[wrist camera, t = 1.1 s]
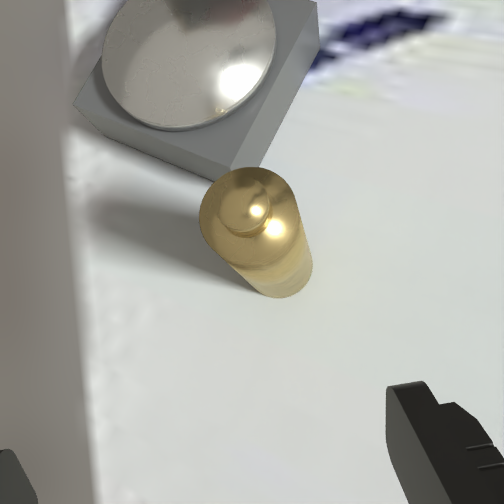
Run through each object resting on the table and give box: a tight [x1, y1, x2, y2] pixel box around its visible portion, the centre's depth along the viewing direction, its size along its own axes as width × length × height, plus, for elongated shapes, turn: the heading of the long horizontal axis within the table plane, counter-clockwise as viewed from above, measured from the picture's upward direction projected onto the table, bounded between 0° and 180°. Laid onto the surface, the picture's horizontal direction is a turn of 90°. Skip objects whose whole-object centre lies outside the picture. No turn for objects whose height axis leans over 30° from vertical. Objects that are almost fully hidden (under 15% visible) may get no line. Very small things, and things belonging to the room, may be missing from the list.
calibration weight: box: [199, 167, 313, 298], centre depth 28 cm, size 5×5×14 cm
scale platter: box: [102, 0, 277, 131], centre depth 34 cm, size 13×13×1 cm
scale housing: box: [73, 0, 320, 182], centre depth 37 cm, size 14×15×5 cm
